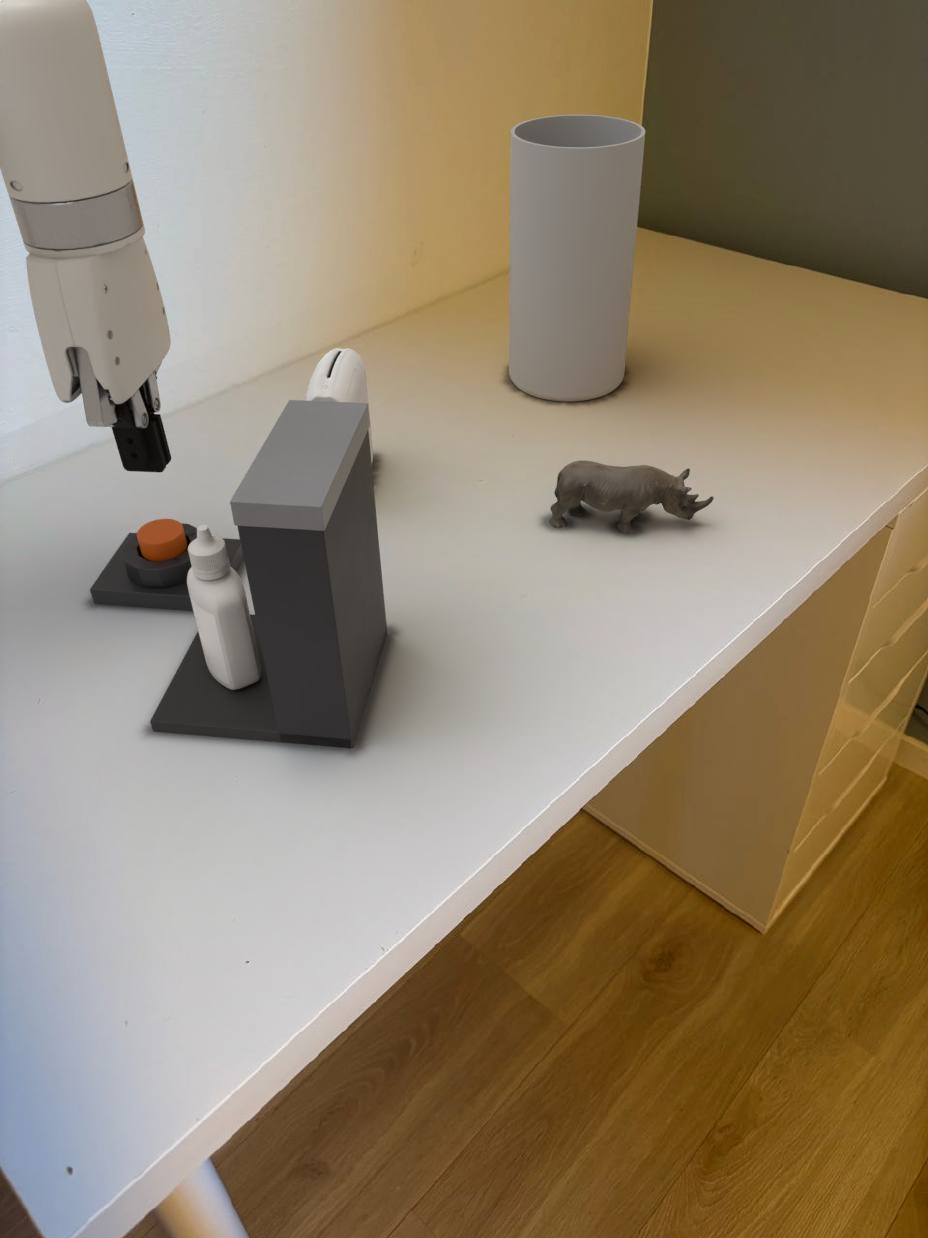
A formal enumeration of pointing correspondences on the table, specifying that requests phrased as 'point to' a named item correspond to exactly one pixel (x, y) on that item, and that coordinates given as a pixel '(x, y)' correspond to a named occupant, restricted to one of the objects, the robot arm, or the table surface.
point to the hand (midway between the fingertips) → (148, 465)
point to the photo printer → (340, 380)
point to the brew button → (162, 539)
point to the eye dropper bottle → (221, 613)
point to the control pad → (151, 576)
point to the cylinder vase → (572, 253)
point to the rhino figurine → (621, 492)
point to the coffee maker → (299, 589)
